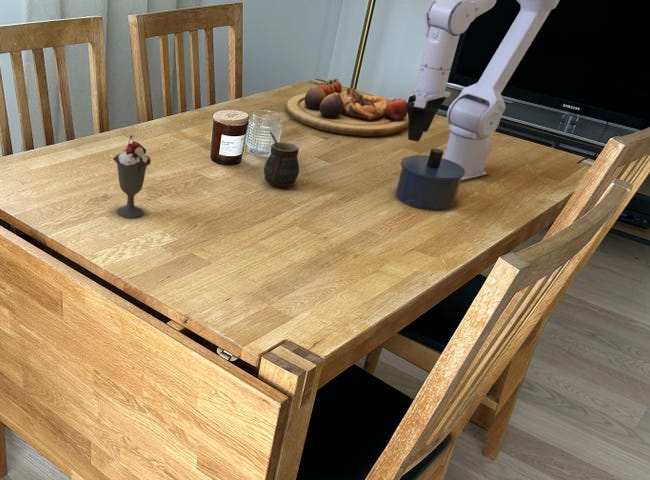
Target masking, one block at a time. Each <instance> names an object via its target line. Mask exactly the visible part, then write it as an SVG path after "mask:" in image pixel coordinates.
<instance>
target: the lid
mask: <svg viewBox="0 0 650 480" xmlns="http://www.w3.org/2000/svg"><path fill="white" fill-rule="evenodd" d="M443 156H444V150H442V149H440V148H431V149H430V152H429V155H425V154H416V155H414V154H413V155H408V156H405V157H403V158H402V159H401V161H400V166H401V169H402V168H404V169H405V170H406V171H408V172H410V173H412V174H414V175H417V176H420V177H424V178H428V179H434V180H456V179H460V178H462V177H463V176H464V174H465V170H464V168H463V167H461V166H460V165H458V164H457V163H455V162H452V161H450V160H447V159H443Z"/></svg>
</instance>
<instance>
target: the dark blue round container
mask: <svg viewBox="0 0 650 480" xmlns="http://www.w3.org/2000/svg"><path fill="white" fill-rule="evenodd" d="M461 182H462V181H461V178H460V179H456V180H434V179H428V178H424V177H420V176H417V175H414V174H412V173H410V172H408V171H406V170H405V169H404V168H402V167H401V171H400V174H399V178H398V182H397V186H396V189H395V196H396V198H397V200H399V201H400V202H402V203H403V204H405V205H408V206H409V207H413V208H417V209H420V210H426V211H445V210H448V209H450V208H452V207H453V205H454V203H455V200H456V197H457V194H458V190H459V188H460V184H461Z"/></svg>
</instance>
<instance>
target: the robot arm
mask: <svg viewBox="0 0 650 480" xmlns="http://www.w3.org/2000/svg"><path fill="white" fill-rule="evenodd" d="M560 1H561V0H516V2H517V3H518V4H519V5H520V10H519V12H518V14H517V16H516V17H515V19H514V20H513V22H512V24H511V25H510V27H509V29H508V31H507V32H506V34H505V36H504V38H502V41H501V42H500V44H499V45H498V48H497V49H496V51H495V53H494V54H493V56H492V58H491V59H490V61H489V62H488V64H487V66H486V67H485V70H484V71H483V72H482V75H481V76H480V78H479V80H478V81H477V82H476V83H474V84H472V85H471V84H470V85H468V86H466V87H464V88H462V89H461V92H460V93H459V95H458V96H457V97H456V98H455V99H454V100H453V101H452V102H451V103H450V105H449V106H448V109H447V112H446V122H447V124H448V125H449V126H448V130H450V133H449V136H448V140H447V143H446V147H445V150H444V153H443V156H442V158H443V159H447V160H450V161H452V162H455V163H457V164H458V165H460V166H461V167H463V168H464V170H465V174H464V176H463V177H462V178H461V181H460V182H462V181H465V180H469V179H473V178H478V177H481V176H486V175H487V172H486V171H485V167H486V164H487V161H488V158H489V154H490V152H491V149H492V138H491V135H492V134H494V132H496V130H497V129H498V127H499V125H500V122H501V119H502V115H503V114H504V112H505V110H506V107H507V106H506V103H505V100H504V98H503V96H502V92H503V91H504V89H505V87H506V85H507V84H508V82H509V81H510V79H511V77H512V76H513V74H514V72H515V71H516V69H517V68H518V67H519V64H520V62H521V61H522V60H523V58H524V56H525V54H526V52H527V51H528V49H529V48H530V46H531V44H532V42H533V41H534V39H535V38H536V36H537V34H538V33H539V31H540V29H541V28H542V26H543V24H544V22H545V21H546V20H547V18H548V16H549V14H550V13H551V11H552V10H554V9H556V8H557V6H558V4H559V2H560ZM495 4H497V0H434V1H432V3H431V4H430V6H429V8H428V10H427V11H426V12H425V24H426V30H425V37H426V41H425V45H424V48H423V53H422V58H421V61H420V66H419V70H418V74H417V78H416V81H415V86H413V89H412V92H413V94H414V96H415V100H414V102H413V101H407V105H406V109H407V114H408V119H409V124H408V126H407V127H408V129H407V140H408V141H412V142H417V143H419V142H420V140H421V139H422V137H423V134H424V133H427V132H428V131H429V129H430V127H431V125H432V122H433V120H434V118H435V117H436V114H437V112H438V111H439V109H440V107H441V106H442V105H443V103H444V102H445V101H446V100H447V98H450V96H451V91H447V90H446V88H447V84H448V81H449V78H450V74H451V69H452V66H453V62H454V58H455V54H456V51H457V47H458V43H459V40H460V36H461V34H464V33H465V32H466V31H467V30H468V28H469V26H470V24H471V23H472V22H474V21H475V19H476V18H477V17H479V16H481V15H483V14H484V13H486V12H488V11H489V10H492V8H493V7H495Z"/></svg>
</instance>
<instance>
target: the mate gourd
mask: <svg viewBox="0 0 650 480" xmlns="http://www.w3.org/2000/svg"><path fill="white" fill-rule="evenodd" d="M269 133H270V136H271V138H272V140H273V141H274V143H272V144H271V147H270V154H269V155H268V158H267V160H266V161H265V163H264V166H263V175H264V180H265V181H266V182H267V184H268V185H270V186H271V187H273V188H277V189H286V188H290V187H291V186H293V185H294V184H295V183H296V181H297V179H298V176H299V173H300V164H299V161H298V156H299V150H300V148H299V146H298V145H297V144H295V143H291V142H287V141H286V142H285V141H278V140H277V139H276V136H275V135H274V134H273V131H269Z"/></svg>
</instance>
